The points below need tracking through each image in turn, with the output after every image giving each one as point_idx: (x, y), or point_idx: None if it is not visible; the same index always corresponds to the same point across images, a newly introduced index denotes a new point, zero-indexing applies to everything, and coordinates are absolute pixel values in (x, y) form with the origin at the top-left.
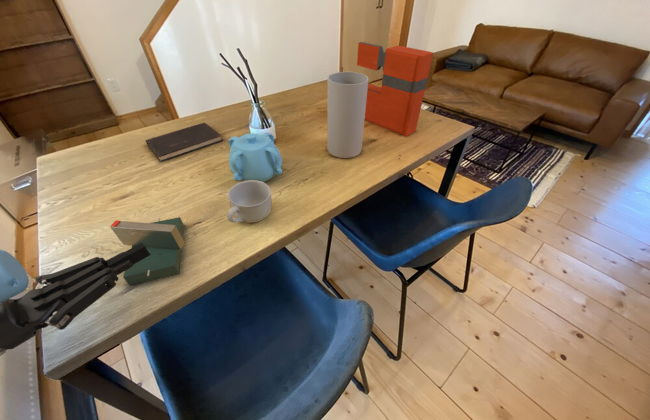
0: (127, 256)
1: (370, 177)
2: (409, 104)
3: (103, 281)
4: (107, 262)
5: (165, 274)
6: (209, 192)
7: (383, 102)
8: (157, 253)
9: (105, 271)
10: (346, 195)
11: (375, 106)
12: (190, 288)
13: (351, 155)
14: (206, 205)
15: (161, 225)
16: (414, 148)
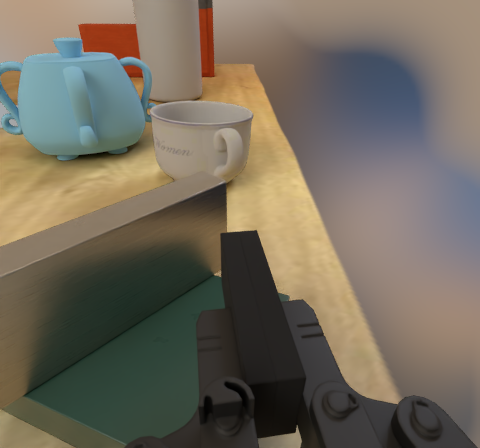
0: (276, 289)
1: (256, 102)
2: (208, 27)
3: (461, 442)
4: (263, 380)
5: None
6: (31, 201)
7: None
8: (182, 322)
9: (352, 410)
10: (269, 118)
11: None
12: (365, 322)
13: (199, 92)
14: (70, 216)
15: (164, 189)
16: (242, 80)
